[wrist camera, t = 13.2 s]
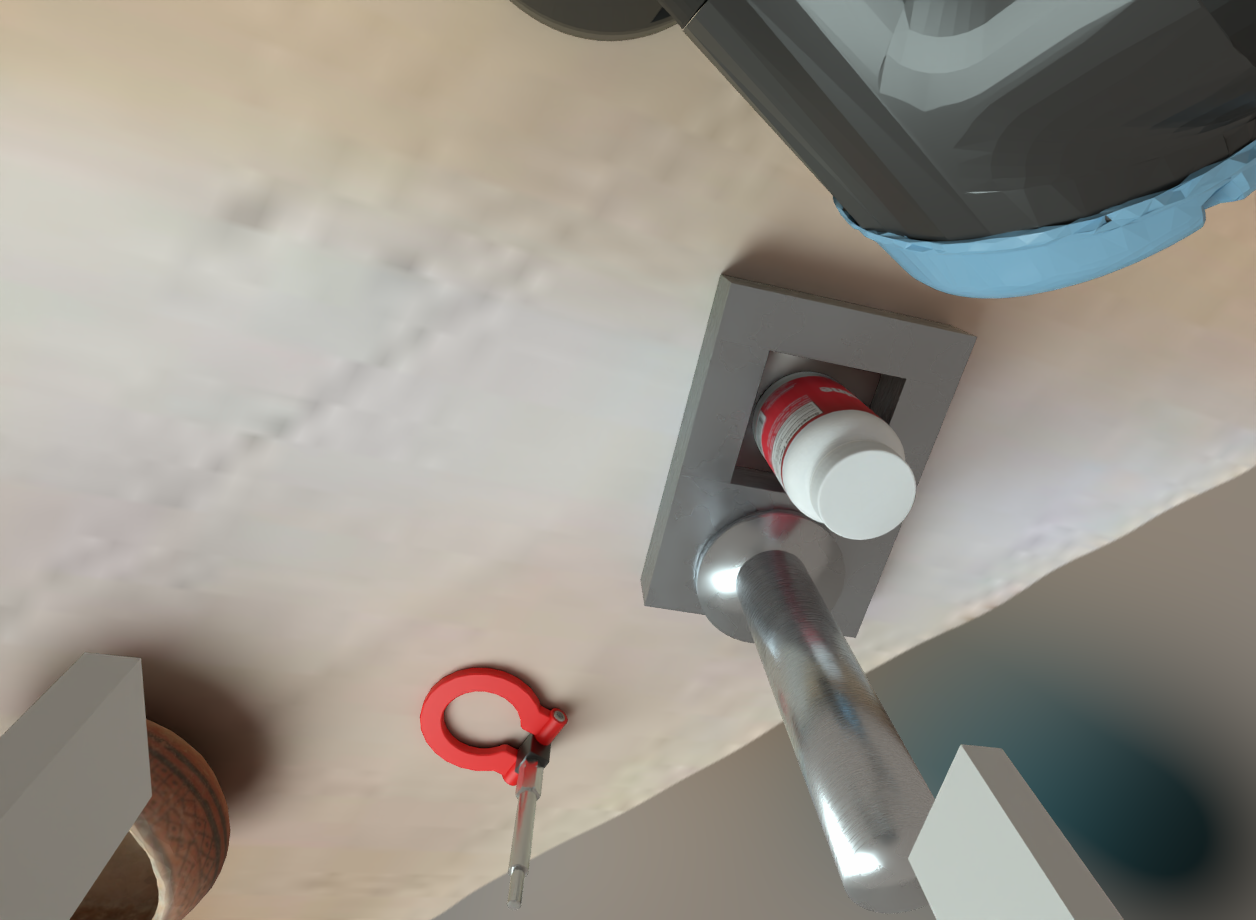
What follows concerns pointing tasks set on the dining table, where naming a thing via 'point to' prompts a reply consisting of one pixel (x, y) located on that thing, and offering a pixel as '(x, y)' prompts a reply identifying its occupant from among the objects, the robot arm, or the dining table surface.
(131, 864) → the bowl
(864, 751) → the rosette post
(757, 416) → the pill bottle
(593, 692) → the dining table surface
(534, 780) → the tow hook
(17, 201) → the dining table surface
